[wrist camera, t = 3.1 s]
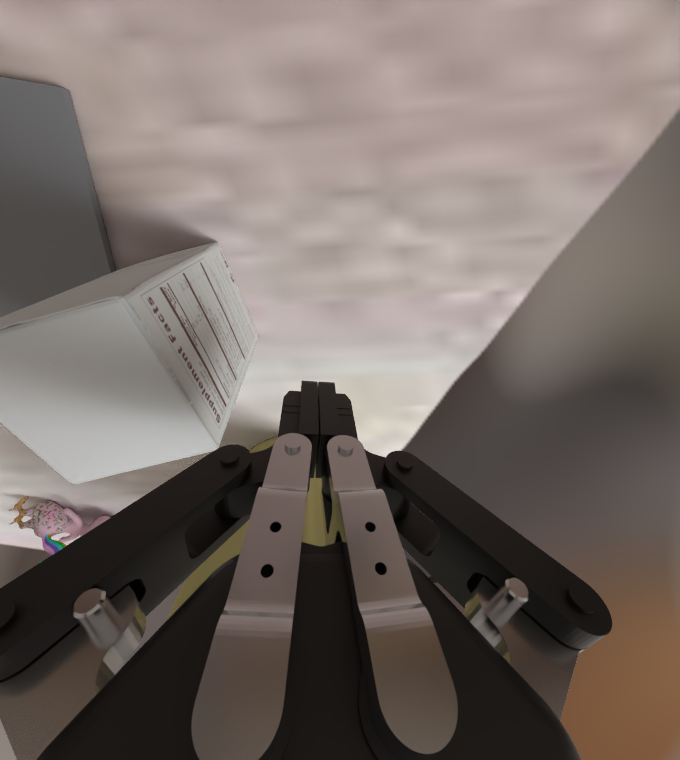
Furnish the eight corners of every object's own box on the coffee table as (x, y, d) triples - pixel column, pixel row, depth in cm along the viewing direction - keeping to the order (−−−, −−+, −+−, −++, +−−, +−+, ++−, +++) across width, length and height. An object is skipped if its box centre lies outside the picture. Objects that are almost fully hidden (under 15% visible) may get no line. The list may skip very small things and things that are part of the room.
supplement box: (175, 359, 24) (66, 490, 13) (119, 266, 20) (-99, 347, 10) (262, 337, 24) (221, 455, 13) (222, 238, 20) (116, 290, 9)
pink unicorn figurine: (37, 508, 34) (164, 554, 37) (-22, 559, 29) (131, 609, 31) (39, 474, 31) (176, 526, 34) (-26, 524, 26) (142, 582, 29)
